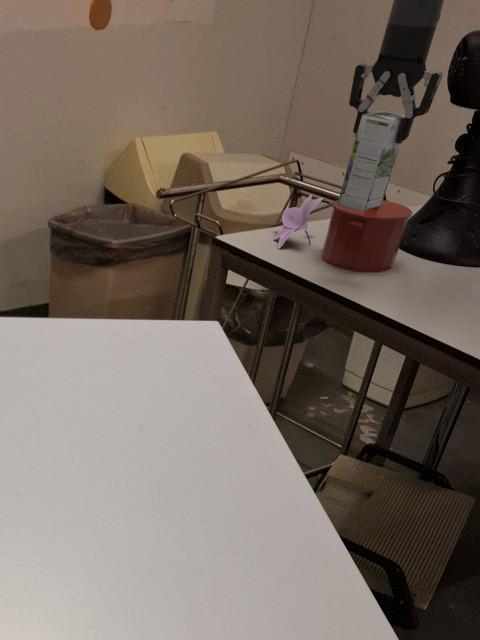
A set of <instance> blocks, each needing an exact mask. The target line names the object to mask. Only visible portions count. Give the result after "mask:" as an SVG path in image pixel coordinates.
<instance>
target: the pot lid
mask: <svg viewBox="0 0 480 640" xmlns="http://www.w3.org/2000/svg"><path fill="white" fill-rule="evenodd" d="M338 200H339V199H336V200H335V201H333V202H332V210H333V209H334V210H336V211H338V212H340V213H342V214H345V215H348V216H352V217H357V218H362V219H368V220H378V221H397V220H404V219H408V220H409V218H411V217H412V215H413V211H412V209H411V208H409V207H408V206H405V205H403V204H399V203H397V202H393V201H389V200H384V199H383V202H382V205H381V207H378V208H374V209H370V210H366V211H361V210H357V209H352V208H348V207H344V206H340V205H338Z"/></svg>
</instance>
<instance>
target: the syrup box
mask: <svg viewBox="0 0 480 640" xmlns="http://www.w3.org/2000/svg"><path fill="white" fill-rule="evenodd" d="M403 118H405V114H404V115H403V114H401V113H397V112H393V111H374V112H369V114H363V115H362V118H361V121H360V125H359V128H358V132H357V136H356V137H355V139H354V143H353V146H352V149H351V154H350V158H349V161H348V163H347V168H346V171H345V175H344V179H343V182H342V186H341V189H340V193H339V197H338V199H337V200H338V205H340V206H344V207H348V208H352V209H357V210H361V211H366V210H370V209H374V208H378V207H381V205H382V202H383V200H384V198H385V195H386V192H387V189H388V185H389V182H390V179H391V175H392V172H393V169H394V167H395V163H396V159H397V157H398V153H399V151H400V146H401V144H398V143H396V140H397V137H398V133H399V130H400V127H401V123H402V120H403Z"/></svg>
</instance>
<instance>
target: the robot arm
mask: <svg viewBox="0 0 480 640" xmlns="http://www.w3.org/2000/svg"><path fill="white" fill-rule="evenodd" d="M444 2H445V0H393V2H392V5H391V9H390V12H389V16H388V20H387V24H386V27H385V30H384V35H383V38H382V41H381V45H380V50H379V53H378V57H377V59H376V61H375V62H374V64H366V63H361V64H357V65H356V66H355V70H354V74H353V79H352V85H351V91H350V95H349V101H348V105H349V106H350V107H352V108H354V109H356V110H357V115H356V118H355V122H354V125H353V129H352V130H353V134H355V135H354V137H355V138H356V136H357V132H358V128H359V125H360V121H361V118H362V115H363V114H369V113H370V111H369V109H370V108H371V106H372V105H373V104H374V103H375V102H376V101H377V99H378V98H379V97H380V96H392V97H394V98H401V103H402V106H403V109H404V116H405V118H403V120H402V123H401V127H400V130H399V133H398V137H397V140H396V143H398V144H400V145H401V144H403V143H404V141H405V140H407V139H408V138H409V136H410V133H411V131H412V130H411V129H412V127H413V123H414V120H415V119H416V117H419V116H420V117H422V116H424V115H426V114H428V113H429V111H430V109H431V107H432V104H433V101H434V98H435V96H436V93H437V91H438V88H439V86H440V84H441V81H442V79H443V72H441V71H437V72H434V71H431V70H427V66H426V62H427V60H428V59H427V58H428V56H429V53H430V50H431V45H432V43H433V39H434V36H435V33H436V29H437V26H438V23H439V21H440V18H441V12H442V9H443V5H444ZM370 74H372V77H373V81H374V85H373V86H372V88H371V89H370V91H368V93H367V94H366V95H365V97H364V99H362V95H363V90H364V85H365V80H367V79H368V78H369V77H370ZM422 79H423V80H424V83H423V86H424V87H425V88H426V89H425V91H424V94H423V96H422V99H421V102H420V104H419V106H418V107H417V103H416V92H415V91H416V90H415V87H416V85H418V84H419V83H420V82H421V81H422Z"/></svg>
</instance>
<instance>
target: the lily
mask: <svg viewBox="0 0 480 640" xmlns="http://www.w3.org/2000/svg"><path fill="white" fill-rule="evenodd" d="M312 198H313V194H312V193H311V194H310V195H309V196H308V197H307V198H306V199H305V200H304V202H303V203H302V204H301V205H300V207H296V206H295V207H289V208H286V209H285V210H284V211H283V213H282V218H281V219H282V225H283V227H282V228H280V230H279V231H278V232H277V233H276V234H275V235H274V237H273V238H272V240H273V239H274V240H277V239H278V243H277V249H278V248H279V249H278V250H280V249H281V248H282V246H284V244H285V243H286V241H287V240H288V239H289V238H290V237H291V235H292V234H293V233H299V232H300V233H301V232H305V234H306V237H307V240H308V244H309V245H310V246H311V245H312V242H311V238H310V236H309V233H308V231H307V230H308V229H309V221H308V216H309V214H311V212H312V211H313V210H314V209H315V208H316V207H317V205H318V204H319V203H320V202H322V201H323V199H324V196H323V197H322V196H321V197H318V198H315V199H313V200H312ZM311 200H312V201H311ZM274 240H273V241H274Z"/></svg>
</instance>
